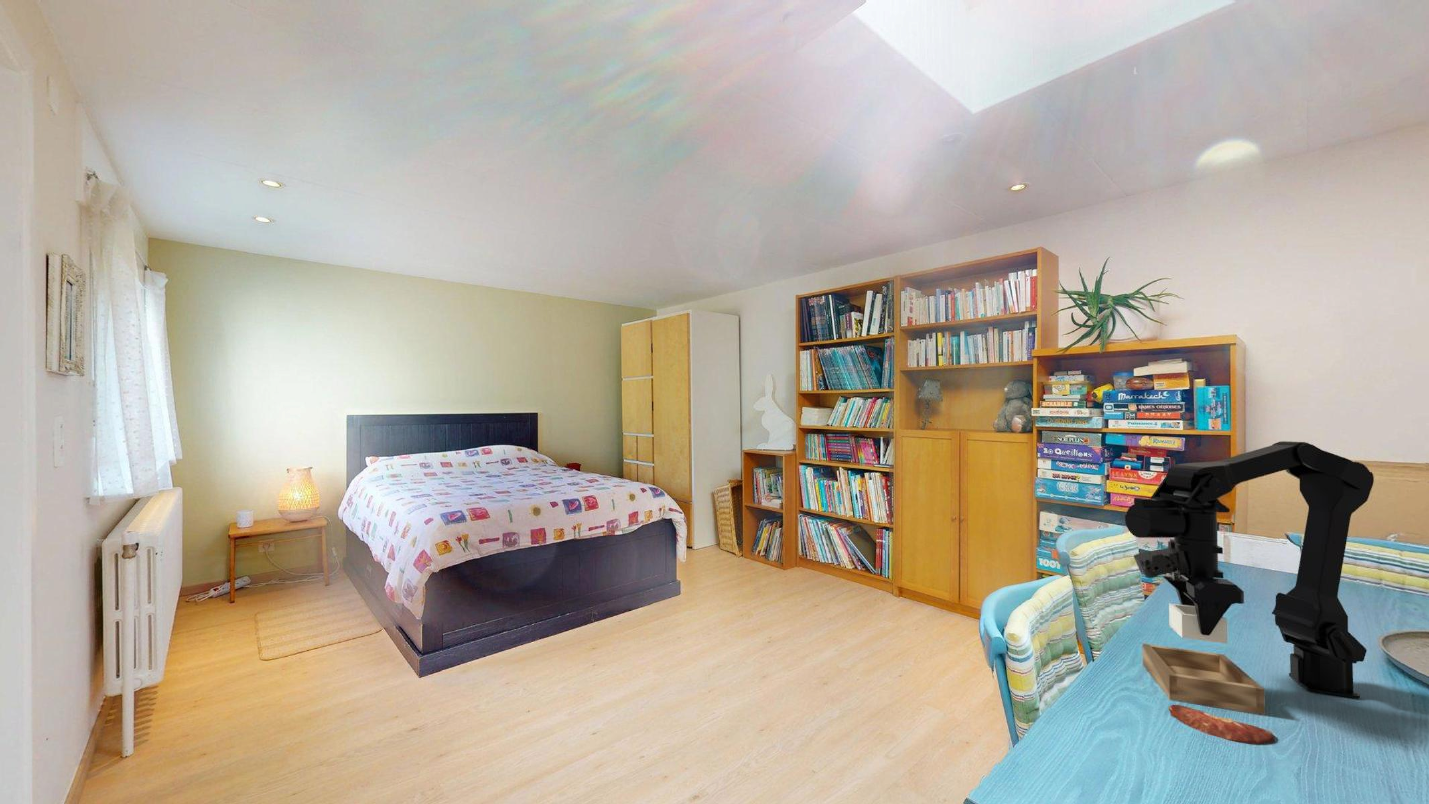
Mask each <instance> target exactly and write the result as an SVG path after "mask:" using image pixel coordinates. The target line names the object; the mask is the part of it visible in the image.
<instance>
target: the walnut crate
mask: <svg viewBox="0 0 1429 804" xmlns="http://www.w3.org/2000/svg"><path fill="white" fill-rule="evenodd" d="M1142 665H1143V667H1144V669H1146V671H1147V673H1149V675H1150V676H1151V678H1152V679H1153V678H1154V679H1153V680H1154V681H1155V682H1156V684H1157V683H1158V684H1157V685H1158V686H1159V688H1160V687H1161V688H1160V689H1161V690H1162V692H1163V691H1164V692H1165V693H1166V694H1165V693H1164V692H1163V693H1164V694H1165V695H1166V697H1167V698H1168V699H1169V700H1171V701H1174V702H1175V701H1176V702H1183V703H1188V704H1195V705H1200V706H1207V707H1212V708H1213V707H1214V708H1218V709H1225V710H1231V711H1237V712H1243V713H1247V714H1255V715H1262V716H1266V705H1265V703H1266V702H1265V700H1266V698H1265V696H1266V694H1265V689H1264V688H1263V687H1262V686H1261V685H1260V684H1259V682H1257V681H1256V680H1254V679H1253V678H1252V677H1251V676H1249V674H1247V673H1246V672H1245V671H1244V670H1242V669H1241V668H1240V667H1239V666H1238V665H1237V664H1236V663H1234V662H1233V661H1232V660H1231V659H1230V658H1229V657H1228V656H1226V655H1225V654H1222V653H1215V652H1207V651H1206V652H1205V651H1200V650H1193V649H1186V648H1185V649H1183V648H1179V647H1178V648H1177V647H1169V646H1163V645H1156V644H1149V643H1148V644H1147V643H1142Z"/></svg>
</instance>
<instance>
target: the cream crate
mask: <svg viewBox="0 0 1429 804" xmlns="http://www.w3.org/2000/svg"><path fill="white" fill-rule="evenodd" d="M1168 610H1169V611H1168V614H1169V615H1168V616H1169V617H1168V619H1169V622H1168V623H1169V627H1170V629H1172V630H1174V632H1176V633H1177V634H1178V635H1179V636H1180V638H1182V639H1189V640H1193V641H1195V640H1196V641H1203V642H1210V643H1212V642H1213V643H1219V644H1227V645H1228V642H1229V639H1228V619H1227V618H1226V617H1225V616H1224V615H1223V616H1222V618H1221V619H1220V621H1219V622H1218V624H1217V625H1216V627H1215V628H1214V630H1213V631H1212V633H1211V634H1210V635H1202V634H1201V632H1200V628H1199V624H1198V619H1197V614H1196V610H1195V606H1188V605H1181V604H1178V603H1170V602H1169V603H1168Z"/></svg>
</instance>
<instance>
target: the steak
mask: <svg viewBox="0 0 1429 804" xmlns="http://www.w3.org/2000/svg"><path fill="white" fill-rule="evenodd" d="M1168 711H1169V713H1170V716H1171V717H1173V718H1175V719H1176V720H1177V721H1179V722H1180V723H1182V724H1184V725H1186V726H1187V727H1190V728H1192V729H1194V730H1197V731H1198V732H1202V733H1204V734H1206V735H1210V736H1214V737H1217V738H1221V739H1223V740H1226V741H1230V742H1234V743H1240V744H1246V745H1247V744H1249V745H1257V746H1258V745H1259V746H1260V745H1272V744H1275V742H1276V736H1275V735H1274V733H1273V732H1271V730H1267V729H1264V728H1262V727H1259V726H1255V725H1253V724H1249V723H1244V722H1238V721H1235V720H1233V719H1232V718H1228V717H1227V718H1225V717H1220V716H1219V715H1217V716H1216V715H1213V714H1210V713H1207V712H1204V711H1202V710H1198V709H1195V708H1192V707H1187V706H1184V705H1181V704H1171V705H1169V707H1168Z"/></svg>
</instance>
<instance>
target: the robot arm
mask: <svg viewBox="0 0 1429 804" xmlns="http://www.w3.org/2000/svg"><path fill="white" fill-rule="evenodd" d="M1283 471H1285V472H1286V473H1287V474H1289V475H1290V476H1293V477H1295V478H1296V479H1298V480H1299V493H1300V494H1301V496H1302V498H1303V499H1304V501H1305V502H1306V504H1307V506H1308V510H1307V511H1308V512H1307V516H1306V521H1305V522H1306V523H1305V528H1304V535H1303V540H1302V546H1301V551H1300V557H1299V564H1298V569H1297V574H1296V582H1295V585H1294V587H1293V588H1291V590H1289V591H1288V592H1287V593H1283V592H1278V593H1277V594H1276V595H1275V605H1274V608H1273V610H1272V612H1271V615H1274V623H1275V626H1276V627H1278V629H1279V631H1280V634H1281V637H1282V638H1283V639H1282V640H1283V642H1286V643H1289V644H1292V648H1293V653H1290V654H1289V665H1290V669H1289V670H1290V672H1289V673H1288V676H1289V677H1290V678H1292V680H1294V681H1295V682H1296V683H1298V684H1299V685H1300V686H1301V687H1303V688H1304V689H1306V690H1307V691H1309V692H1312V693H1320V694H1321V693H1322V694H1326V695H1333V696H1340V697H1345V698H1346V697H1348V698H1353V699H1361V694H1359V693H1357V692H1356V691H1354V668H1353V667H1354V666H1353V665H1354V664H1357V663H1358V662H1361V663H1362V662H1364V661H1365V657H1366V655H1367V650H1368V649H1367V648H1366V647H1365V646H1364V644H1362V643H1361V642H1360V641H1359V640H1358V639H1357V638H1356V637H1355V636H1354V635H1352V634H1351V633H1350V632H1349V617H1348V614H1347V612H1346V611H1345V608H1344V606H1343V605H1342V603H1341V601H1340V599H1339V596H1338V594H1339V590H1340V589H1339V588H1340V582H1341V579H1342V578H1341V577H1342V571H1343V570H1342V569H1343V565H1344V558H1345V553H1346V546H1347V541H1348V537H1349V535H1348V534H1349V531H1350V530H1349V529H1350V523H1351V517H1352V514H1353V513H1354V512H1356V511H1357V510H1358V509H1360V508H1361V507H1362V506H1363V505H1364V504H1365V503H1366V502H1367V501H1368V500H1369V498H1370V494H1371V492H1372V489H1373V486H1374V481H1375V476H1374V473H1373V472H1372V471H1370V470H1369V468H1368V467H1367V466H1366V465H1365V464H1363V463H1361V462H1358V461H1352V460H1351V459H1349V458H1346V457H1343V456H1341V455H1338V454H1334V453H1332V452H1329V451H1326V450H1323V449H1321V448H1320V447H1318V446H1315V445H1314V444H1312V443H1309V442H1305V441H1288V440H1287V441H1286V440H1284V441H1278V442H1275V443H1273V444H1272V445H1269V446H1265V447H1261V448H1258V449H1254V450H1252V451H1247V452H1244V453H1240V454H1237V455H1233V456H1230V457H1227V458H1224V459H1219V460H1215V461H1203V462H1199V461H1198V462H1186V463H1178V464H1174V465H1171V466H1170V467H1169V468H1168V469H1167V473H1166V475H1165V477H1164V478H1163V480H1162V481H1161V483H1160V484H1159V486H1157V488H1156V489H1155V491H1154V492H1153V493H1152V494H1151V497H1150V498H1145V497H1134V498H1133V505H1130V506H1129V508H1128V509H1127V510H1126V514H1124V521H1125V525H1126V528H1127V530H1128V531H1129V532H1130V534H1131V535H1132V536H1134V537H1136V538H1139V539H1142V538H1144V539H1145V538H1147V539H1148V538H1149V539H1150V538H1154V539H1156V538H1158V539H1161V538H1165V539H1167V538H1169V541H1167V548H1160V549H1154V550H1150V551H1145V552H1140V553H1136V554H1134V555H1133V558H1134V560H1135V562H1136V565H1137V567H1138V569H1139V571H1140V573H1141V575H1142V574H1143V576H1144V577H1145V578H1148V579H1153V578H1157V577H1158V576H1161V575H1163V576H1162V577H1163V579H1164V580H1165V581H1166V582H1167V583H1169V584H1170V585H1171V586H1172V587H1173V588H1174V589H1175V592H1176V594H1177V597H1178V600H1179V603H1180V604H1179V605H1188V606H1195V610H1196V614H1197V619H1198V624H1199V628H1200V632H1201V634H1202V635H1210V634H1211V633H1212V631H1213V630H1214V628H1215V627H1216V625H1217V624H1218V622H1219V621H1220V619H1221V618H1222V616H1223V617H1224V615H1225V614H1226V612H1227V611H1228V610H1229V608H1231V606H1232V605H1234V604H1236V605H1237V604H1238V605H1242V604H1245V598H1244V597H1245V596H1244V595H1245V592H1244V590H1243V589H1241V588H1240V587H1239V586H1238V585H1237V584H1235V583H1234V582H1231V581H1230V580H1228V579H1226V578H1225V579H1224V572H1223V571H1221V570H1219V555H1220V554H1221V555H1222V554H1224V553H1223V552H1224V551H1223V550H1224V549H1223V547H1222V546H1220V545H1218V514H1219V513H1222V514H1223V513H1226V514H1227V513H1228V514H1229V512H1230V508H1229V507H1227V506H1226V505H1224V503H1222V502H1221V501H1220V500H1219V498H1221V497H1224V496H1225V495H1227V494H1229V493H1232V491H1233V490H1234V488H1235V487H1236V486H1238V485H1239V484H1241V483H1245V482H1248V481H1251V480H1255V479H1259V478H1262V477H1265V476H1268V475H1271V474H1272V475H1273V474H1276V473H1279V472H1283ZM1217 513H1218V514H1217ZM1171 538H1173V539H1171ZM1167 574H1168V576H1167ZM1164 575H1165V576H1164Z"/></svg>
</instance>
